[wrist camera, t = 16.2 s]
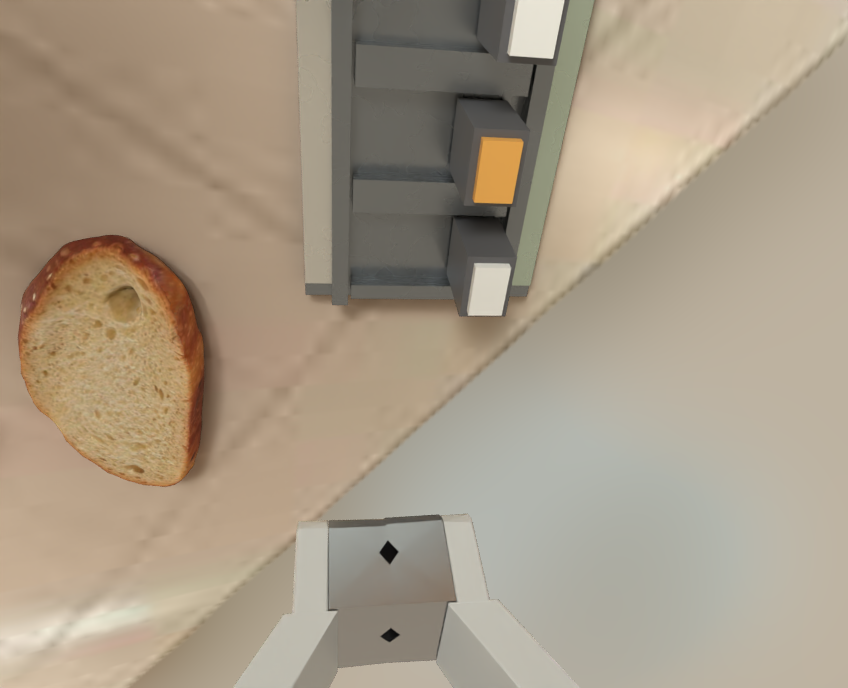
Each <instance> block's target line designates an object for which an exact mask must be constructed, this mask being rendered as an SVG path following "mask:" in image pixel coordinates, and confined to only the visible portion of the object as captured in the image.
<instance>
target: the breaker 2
mask: <svg viewBox="0 0 848 688" xmlns="http://www.w3.org/2000/svg"><path fill="white" fill-rule="evenodd" d="M569 1H570V0H481V5H480V13H479V21H478V29H477V36H476V38H477V39H478V41H479V42H480V43H481V44H482V45H483V46H484V48H485V49H486V50H487V51H488V52H489V53H490V54H491V56H492V57H493V58H494V59H495V60H496V61H497V62H504V63H519V64H534V65H549V66H556V65H557V60H558V55H559V50H560V45H561V41H562V36H563V31H564V26H565V21H566V16H567V11H568V6H569Z"/></svg>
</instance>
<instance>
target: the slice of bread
mask: <svg viewBox="0 0 848 688" xmlns="http://www.w3.org/2000/svg"><path fill="white" fill-rule="evenodd" d="M18 344H19V356H20V361H21V374H22V377H23V379H24V380H25V384H26V387H27V390H28V392H29V394H30V396H31V397H32V400H33V403H34V404H35V405H36V407H37V408H38V409H39V410H40V411H41V412H42V413H43V414H45V415H46V416H48V417H49V418H50V419H51V420H53V421H54V423H55V424H56V425H57V427H58V428H59V429H60V431H61V432H62V433H63V436H64V438H65V440H66V441H67V442H68V443H69V444H70V445H71V446H72V447H73V448H74V449H76V450H77V451H78V452H79V453H80V454H81V455H82V456H83V457H85V458H87V459H88V460H90V461H92V462H93V463H95V464H96V465H98V466H99V467H101V468H102V469H104V470H105V471H106V472H108V473H110V474H113V475H116V476H118V477H120V478H123V479H125V480H128V481H132V482H136V483H139V484H142V485H152V486H162V487H165V486H171V485H175V484H176V483H178V482H179V481H181V480H182V479H183V478H184V477H185V476H186V475H187V473H188V472H189V470H190V469H191V468H192V467H193V465H194V462H195V458H196V455H197V452H198V448H199V444H200V435H201V427H202V421H201V414H202V400H203V387H204V356H203V352H204V345H203V339H202V335H201V333H200V331H199V329H198V327H197V323H196V318H195V313H194V310H193V307H192V303H191V300H190V298H189V295H188V293H187V290H186V288H185V287H184V285H183V283H182V282H181V281H180V279H179V278H178V277H177V276H176V275H175V274H174V273H173V271H172V270H171V269H170V268H168V267H167V266H166V265H165V264H164V263H163V262H162V261H161V260H160V259H159V258H157V257H156V256H154V255H153V254H151V253H150V252H148V251H146V250H144V249H142V248H140V247H139V246H137V245H136V244H135V243H134V242H132V241H131V240H130V239H128V238H126V237H123V236H118V235H106V236H100V237H94V238H87V239H82V240H77V241H73V242H70V243H68V244H66V245H64V246H63V247H62V248H61V249H60V250H59V251H58V252H57V253H56V254H55V255H54V256H53V257H52V258H51V259H50V260H49V261H48V263H47V264H46V265H45V266H44V268H43V269H42V270H41V271H40V273H39V274H38V275H37V276H36V278H35V279H33V280H32V282H31V283H30V285H29V286H28V287H27V289H26V290H25V292H24V294H23V298H22V303H21V318H20V325H19V334H18Z"/></svg>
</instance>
